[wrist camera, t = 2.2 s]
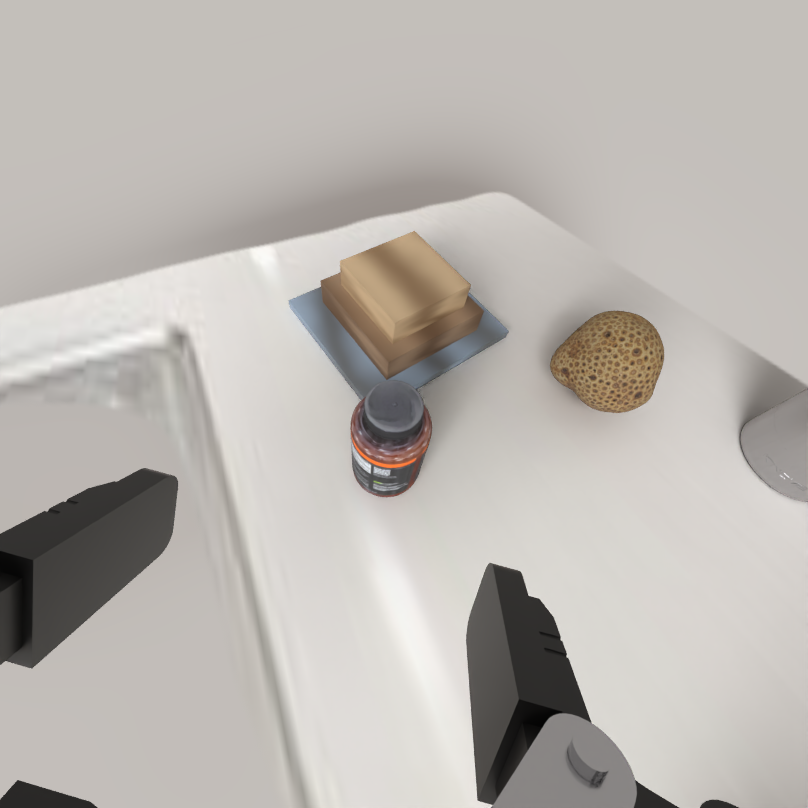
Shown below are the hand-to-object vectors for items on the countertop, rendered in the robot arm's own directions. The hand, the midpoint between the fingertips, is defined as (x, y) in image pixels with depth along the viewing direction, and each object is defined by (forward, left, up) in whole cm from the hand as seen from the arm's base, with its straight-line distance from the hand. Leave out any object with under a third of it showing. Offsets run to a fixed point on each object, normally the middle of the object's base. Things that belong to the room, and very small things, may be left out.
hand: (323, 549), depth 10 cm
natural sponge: (-31, -3, -24) cm, 39 cm away
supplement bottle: (-9, -8, -24) cm, 27 cm away
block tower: (-20, -21, -24) cm, 37 cm away
